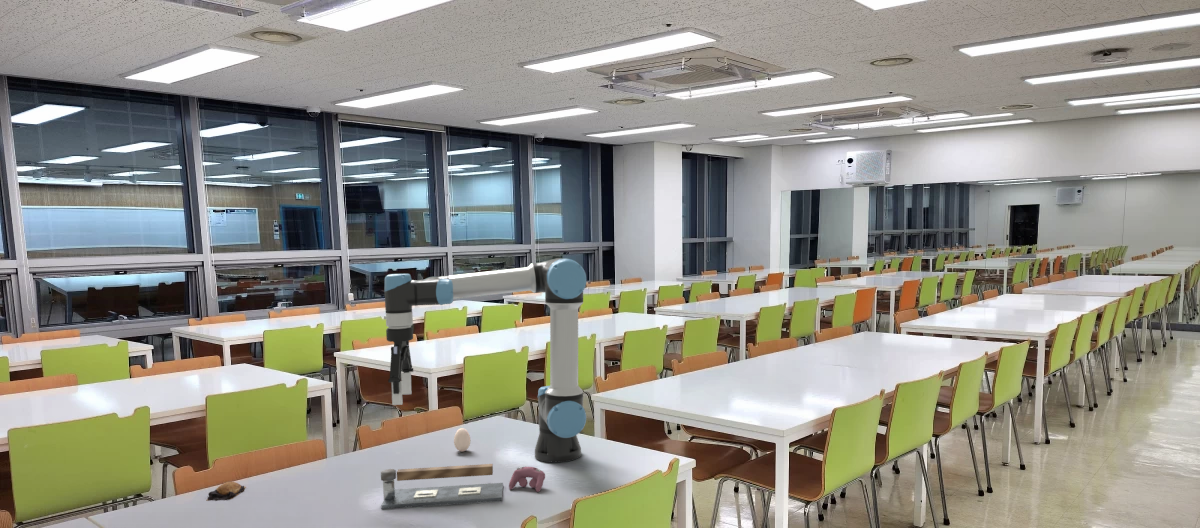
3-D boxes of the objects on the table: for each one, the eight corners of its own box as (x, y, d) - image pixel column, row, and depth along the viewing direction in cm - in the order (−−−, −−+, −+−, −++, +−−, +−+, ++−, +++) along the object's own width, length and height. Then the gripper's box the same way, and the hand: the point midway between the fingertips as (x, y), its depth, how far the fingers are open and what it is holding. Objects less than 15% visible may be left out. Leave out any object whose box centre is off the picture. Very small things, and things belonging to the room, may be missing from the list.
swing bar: (379, 482, 199) (379, 474, 199) (382, 478, 203) (382, 469, 203) (492, 475, 202) (492, 467, 202) (493, 471, 206) (492, 462, 206)
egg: (462, 448, 250) (462, 425, 249) (474, 450, 246) (473, 427, 246) (450, 452, 245) (450, 429, 245) (462, 454, 242) (461, 431, 242)
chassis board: (503, 486, 210) (502, 467, 210) (501, 501, 198) (501, 481, 198) (388, 493, 207) (387, 474, 207) (379, 509, 195) (378, 488, 195)
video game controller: (544, 494, 207) (548, 469, 210) (538, 491, 203) (542, 466, 206) (513, 491, 210) (517, 466, 213) (506, 488, 206) (510, 463, 209)
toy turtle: (220, 490, 216) (220, 477, 216) (249, 488, 216) (249, 476, 216) (202, 503, 205) (201, 490, 205) (232, 501, 206) (232, 488, 205)
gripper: (395, 322, 224) (398, 390, 225) (376, 333, 199) (379, 409, 200) (420, 321, 224) (422, 389, 225) (404, 332, 200) (407, 408, 200)
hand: (402, 399), depth 213 cm, fingers open, 13 cm apart
